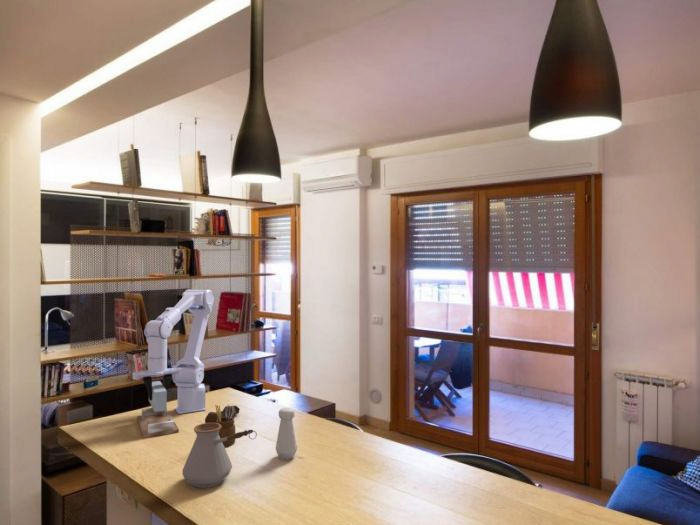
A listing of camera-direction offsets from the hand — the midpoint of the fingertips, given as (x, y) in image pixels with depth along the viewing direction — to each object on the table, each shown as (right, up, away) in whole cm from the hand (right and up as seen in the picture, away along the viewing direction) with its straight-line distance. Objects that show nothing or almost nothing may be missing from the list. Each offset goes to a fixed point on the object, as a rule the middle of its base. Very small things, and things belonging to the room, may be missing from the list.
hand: (157, 398), depth 150 cm
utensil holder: (+26, -9, -16) cm, 32 cm away
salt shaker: (+46, -9, -25) cm, 53 cm away
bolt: (+21, -9, +4) cm, 23 cm away
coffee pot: (+33, -8, -42) cm, 53 cm away
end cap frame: (0, -9, 0) cm, 9 cm away
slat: (0, -2, 0) cm, 2 cm away
